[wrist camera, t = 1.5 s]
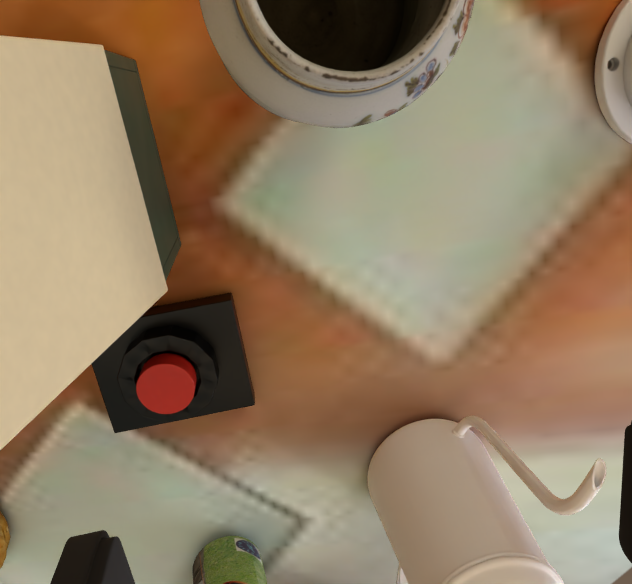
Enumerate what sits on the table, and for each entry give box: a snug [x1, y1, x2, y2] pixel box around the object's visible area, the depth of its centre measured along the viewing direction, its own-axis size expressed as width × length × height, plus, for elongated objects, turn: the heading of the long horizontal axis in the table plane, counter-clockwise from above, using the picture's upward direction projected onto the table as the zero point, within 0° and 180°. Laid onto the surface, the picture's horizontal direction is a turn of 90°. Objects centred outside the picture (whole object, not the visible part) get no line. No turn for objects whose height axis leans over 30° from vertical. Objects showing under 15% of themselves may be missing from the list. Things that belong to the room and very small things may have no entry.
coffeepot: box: [367, 416, 606, 584], centre depth 40 cm, size 11×25×19 cm, turn 162°
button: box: [136, 353, 197, 414], centre depth 39 cm, size 4×4×2 cm
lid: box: [0, 35, 168, 450], centre depth 22 cm, size 14×13×1 cm
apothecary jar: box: [199, 0, 474, 128], centre depth 28 cm, size 12×12×18 cm
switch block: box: [91, 293, 255, 433], centre depth 41 cm, size 11×9×4 cm
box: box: [104, 50, 181, 281], centre depth 33 cm, size 14×13×10 cm
